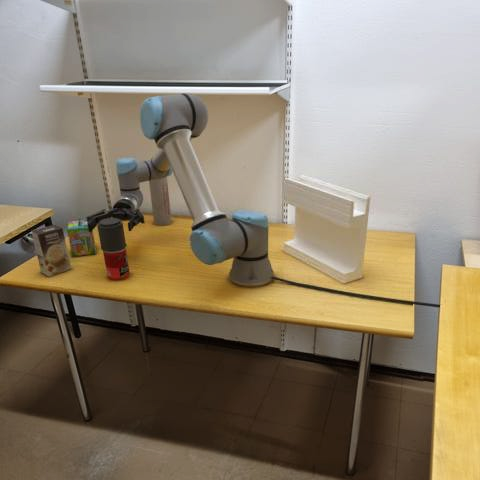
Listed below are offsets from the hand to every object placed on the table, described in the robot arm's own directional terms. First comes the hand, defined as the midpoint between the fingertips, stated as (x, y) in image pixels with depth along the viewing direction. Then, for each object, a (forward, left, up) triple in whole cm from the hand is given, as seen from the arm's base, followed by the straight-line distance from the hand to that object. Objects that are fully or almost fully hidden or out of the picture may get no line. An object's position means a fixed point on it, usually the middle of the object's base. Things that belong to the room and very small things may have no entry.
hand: (109, 227), depth 160 cm
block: (-43, -59, -19) cm, 75 cm away
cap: (+1, -1, -8) cm, 8 cm away
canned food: (+1, -1, -19) cm, 19 cm away
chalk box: (+32, -3, -19) cm, 37 cm away
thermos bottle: (+38, -45, -19) cm, 62 cm away
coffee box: (+22, +13, -19) cm, 32 cm away
